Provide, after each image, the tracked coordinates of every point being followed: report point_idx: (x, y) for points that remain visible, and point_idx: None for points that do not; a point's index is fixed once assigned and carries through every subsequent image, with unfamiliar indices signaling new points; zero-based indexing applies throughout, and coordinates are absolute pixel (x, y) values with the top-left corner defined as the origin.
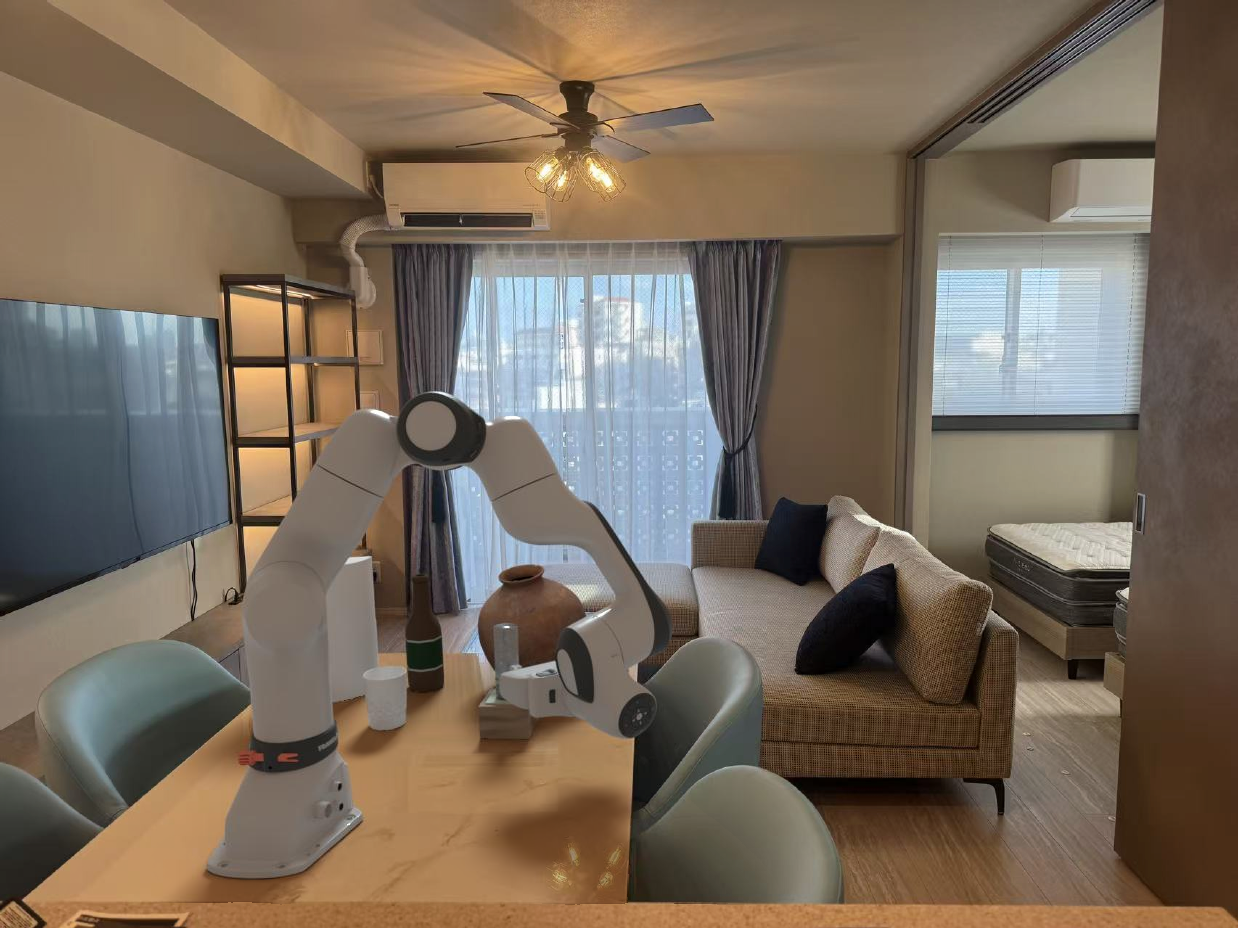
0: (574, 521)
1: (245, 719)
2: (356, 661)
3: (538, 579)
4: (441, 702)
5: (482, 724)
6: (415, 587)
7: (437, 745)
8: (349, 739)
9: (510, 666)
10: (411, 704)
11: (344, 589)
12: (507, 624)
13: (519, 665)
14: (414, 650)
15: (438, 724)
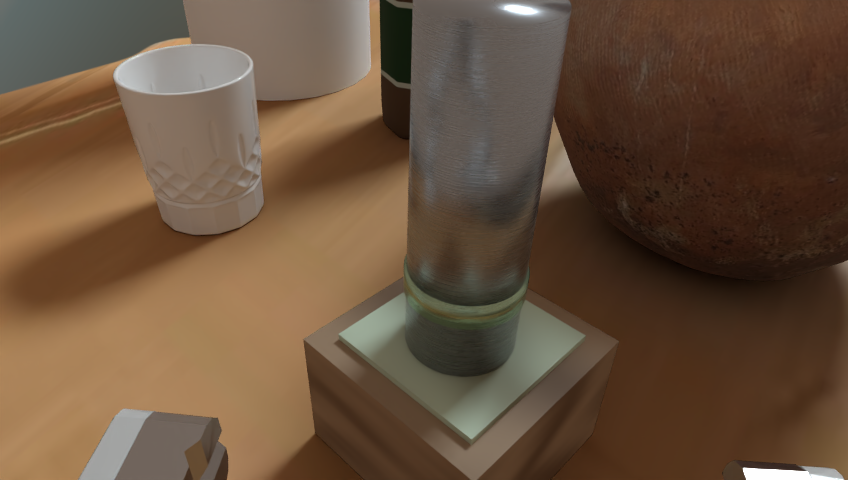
0: None
1: (65, 78)
2: (271, 15)
3: None
4: (400, 188)
5: (318, 401)
6: None
7: (179, 384)
8: (79, 222)
9: (115, 419)
10: (336, 165)
11: None
12: None
13: (178, 466)
14: (389, 24)
15: (300, 274)
